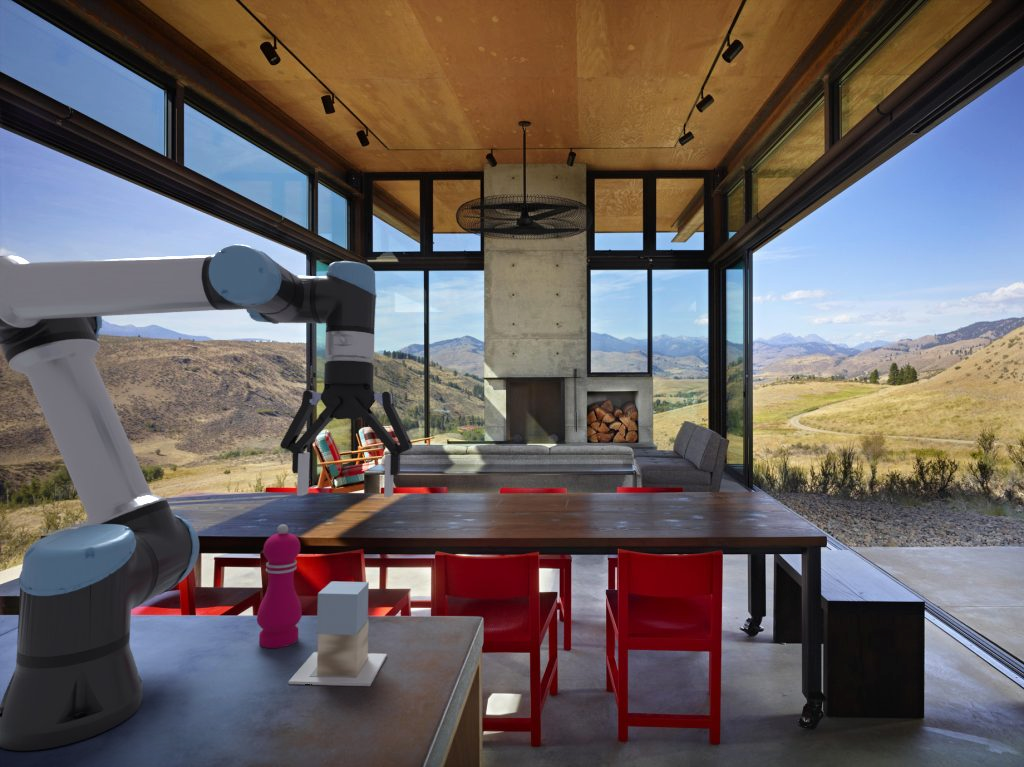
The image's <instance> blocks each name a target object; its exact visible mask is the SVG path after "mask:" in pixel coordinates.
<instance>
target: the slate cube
mask: <svg viewBox="0 0 1024 767" xmlns="http://www.w3.org/2000/svg"><path fill="white" fill-rule="evenodd" d="M369 585H370V584H369V582H368V581H335V580H334V581H330V582H329V583H328V584H326V585H325V587H324V588H322V589H321V590H320V591H319V592H318V593H317V613H316V615H317V616H316V618H317V619H316V635H318V634H337V635H357V633H358V632H359V631H360V630H361V628H362V627H363V626H364V624H365V623H366V622H367V620H369V617H368V616H369Z"/></svg>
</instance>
